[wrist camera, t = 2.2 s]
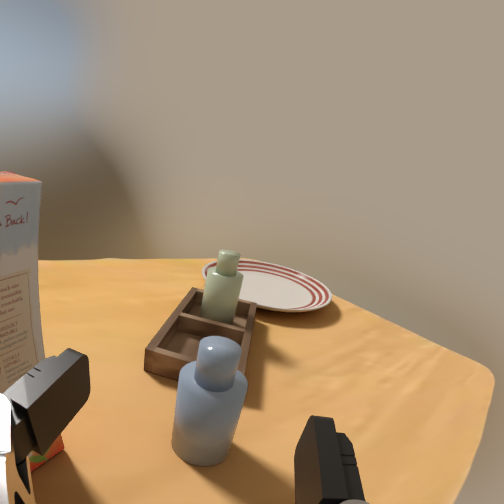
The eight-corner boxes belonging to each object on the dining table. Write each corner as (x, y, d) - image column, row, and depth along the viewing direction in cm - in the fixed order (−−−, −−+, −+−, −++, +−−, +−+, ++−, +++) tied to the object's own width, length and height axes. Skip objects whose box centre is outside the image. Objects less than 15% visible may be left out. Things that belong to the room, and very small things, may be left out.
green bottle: (195, 324, 45) (208, 252, 42) (202, 311, 50) (215, 245, 48) (230, 333, 45) (246, 261, 42) (234, 319, 50) (249, 253, 47)
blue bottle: (164, 456, 22) (174, 355, 19) (179, 419, 27) (193, 322, 24) (225, 472, 22) (254, 375, 19) (232, 432, 27) (259, 338, 24)
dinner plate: (232, 328, 49) (236, 309, 48) (184, 267, 72) (186, 253, 71) (353, 319, 62) (358, 305, 61) (283, 272, 85) (286, 261, 84)
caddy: (143, 370, 33) (145, 348, 32) (189, 303, 53) (192, 287, 52) (238, 396, 32) (244, 375, 32) (253, 319, 53) (257, 303, 52)
